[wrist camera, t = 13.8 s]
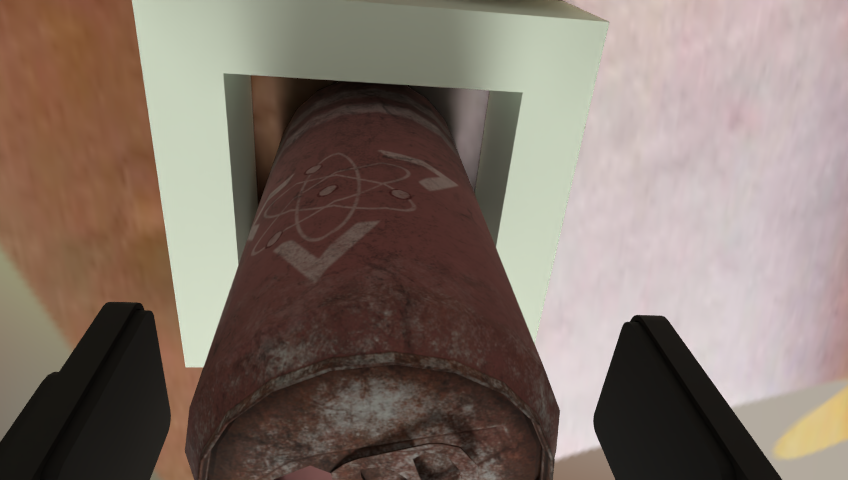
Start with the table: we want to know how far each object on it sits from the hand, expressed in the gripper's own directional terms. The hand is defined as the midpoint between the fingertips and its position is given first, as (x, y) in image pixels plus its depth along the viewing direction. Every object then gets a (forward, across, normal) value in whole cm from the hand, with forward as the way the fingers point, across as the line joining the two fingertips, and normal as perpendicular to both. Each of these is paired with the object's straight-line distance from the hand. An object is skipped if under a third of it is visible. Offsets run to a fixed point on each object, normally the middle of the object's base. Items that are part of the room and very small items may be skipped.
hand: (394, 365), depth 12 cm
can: (+11, +1, 0) cm, 11 cm away
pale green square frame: (+11, 0, 0) cm, 11 cm away
